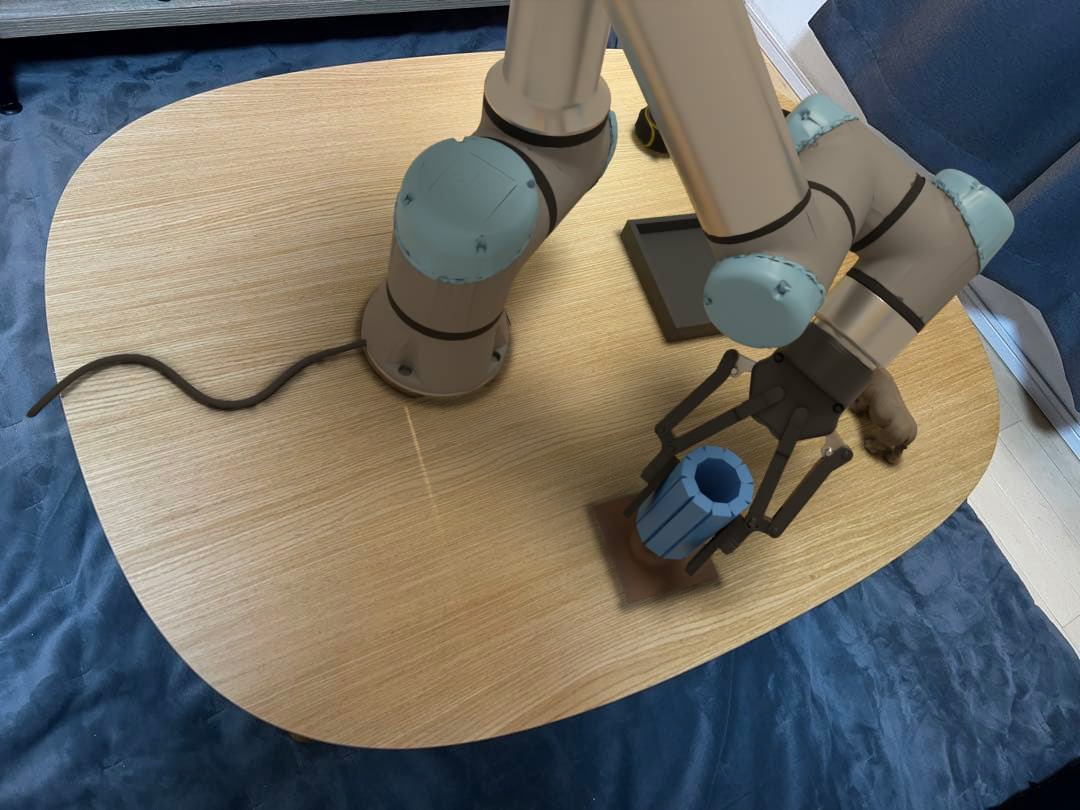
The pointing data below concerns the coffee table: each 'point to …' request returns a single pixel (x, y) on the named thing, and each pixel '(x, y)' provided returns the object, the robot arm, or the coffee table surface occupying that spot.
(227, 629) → the coffee table surface
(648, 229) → the tray
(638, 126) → the tape measure
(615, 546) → the stand
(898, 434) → the rhino figurine
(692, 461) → the blue grooved hollow cylinder
